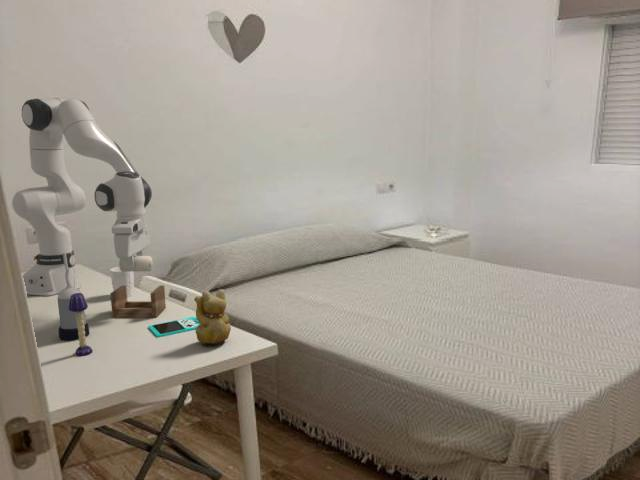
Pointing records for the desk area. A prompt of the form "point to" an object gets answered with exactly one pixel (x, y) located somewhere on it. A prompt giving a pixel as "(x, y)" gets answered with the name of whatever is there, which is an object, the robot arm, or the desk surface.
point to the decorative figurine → (212, 318)
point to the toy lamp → (80, 322)
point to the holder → (137, 304)
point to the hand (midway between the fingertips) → (135, 265)
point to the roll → (137, 264)
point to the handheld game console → (174, 326)
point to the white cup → (122, 280)
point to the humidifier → (68, 318)
